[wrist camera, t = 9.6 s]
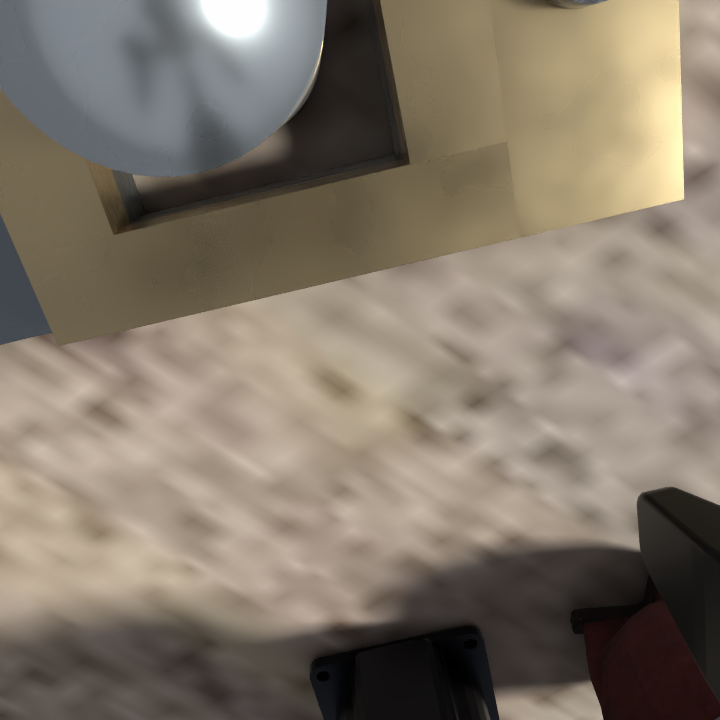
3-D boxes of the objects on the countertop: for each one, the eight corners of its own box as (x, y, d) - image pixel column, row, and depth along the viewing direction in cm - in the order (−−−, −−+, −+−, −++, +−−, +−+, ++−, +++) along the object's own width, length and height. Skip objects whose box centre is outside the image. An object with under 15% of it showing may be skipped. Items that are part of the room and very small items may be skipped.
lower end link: (488, 216, 18) (513, 233, 16) (-37, 340, 19) (-87, 374, 16) (412, -310, 14) (431, -392, 12) (-272, -134, 14) (-386, -179, 12)
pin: (339, 116, 17) (362, 134, 9) (174, 156, 17) (41, 210, 9) (296, -81, 15) (273, -296, 7) (113, -35, 15) (-126, -194, 7)
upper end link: (627, 183, 18) (707, 205, 14) (96, 309, 18) (41, 361, 15) (595, -356, 14) (697, -524, 10) (-99, -178, 14) (-246, -277, 10)
